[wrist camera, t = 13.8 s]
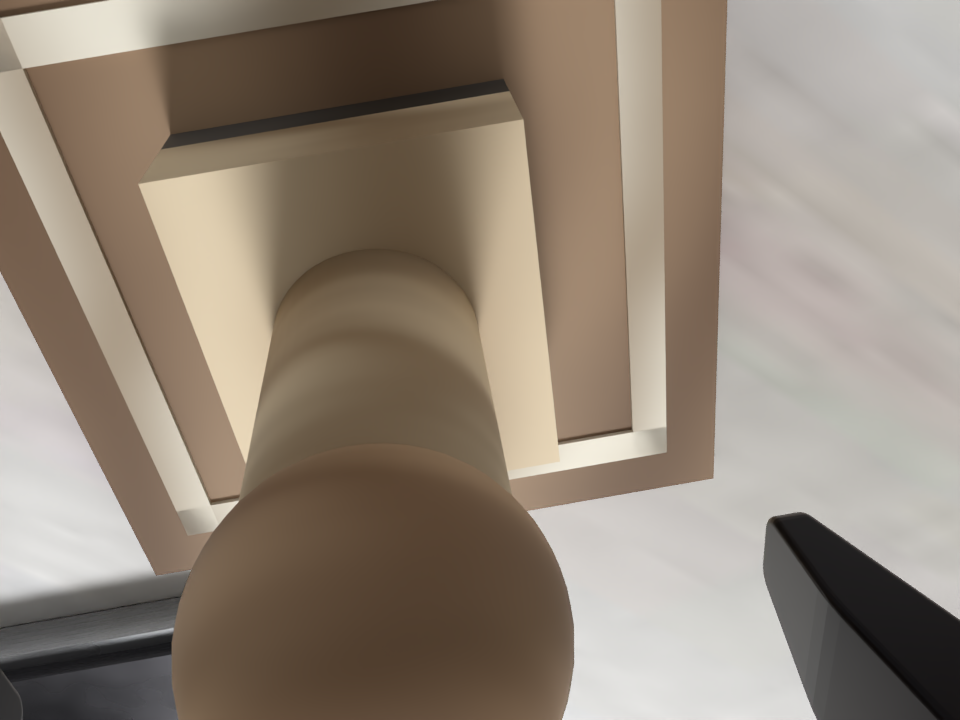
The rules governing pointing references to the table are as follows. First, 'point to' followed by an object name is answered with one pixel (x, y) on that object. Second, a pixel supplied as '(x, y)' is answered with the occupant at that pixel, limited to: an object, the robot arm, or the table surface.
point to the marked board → (343, 81)
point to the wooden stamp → (369, 414)
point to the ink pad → (95, 664)
